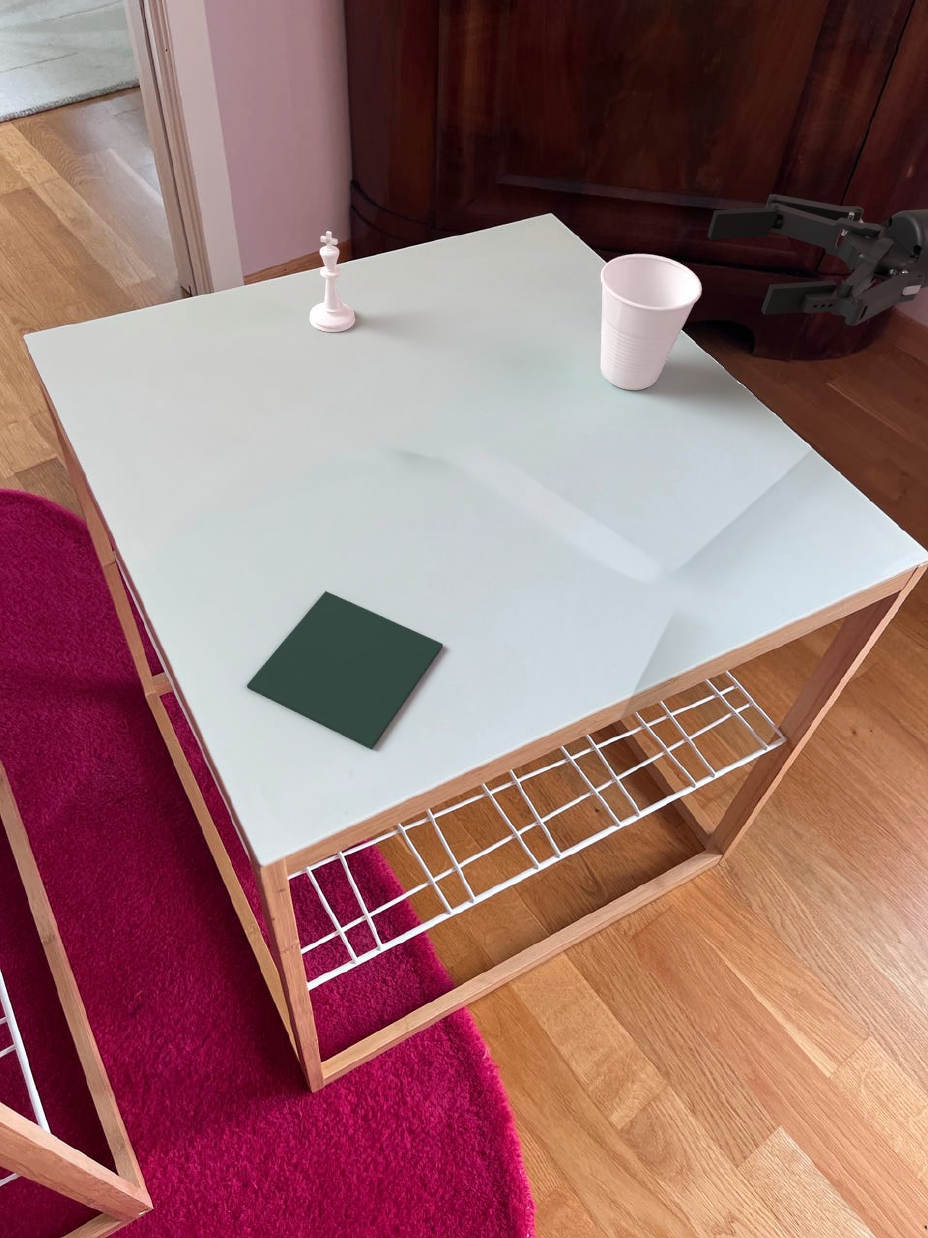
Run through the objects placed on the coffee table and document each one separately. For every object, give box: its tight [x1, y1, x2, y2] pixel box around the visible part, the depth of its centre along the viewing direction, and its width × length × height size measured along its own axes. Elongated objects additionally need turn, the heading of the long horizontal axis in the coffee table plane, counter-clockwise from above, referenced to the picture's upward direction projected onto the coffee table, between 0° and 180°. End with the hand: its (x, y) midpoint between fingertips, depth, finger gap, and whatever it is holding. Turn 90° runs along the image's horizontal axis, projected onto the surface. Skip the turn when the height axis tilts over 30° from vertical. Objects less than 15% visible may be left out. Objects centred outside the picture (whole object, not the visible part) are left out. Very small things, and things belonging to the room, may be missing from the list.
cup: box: [600, 253, 703, 391], centre depth 96 cm, size 10×10×11 cm
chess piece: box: [309, 230, 356, 333], centre depth 99 cm, size 5×5×10 cm
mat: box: [246, 590, 444, 750], centre depth 74 cm, size 11×11×1 cm
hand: (738, 260), depth 93 cm, fingers open, 13 cm apart
